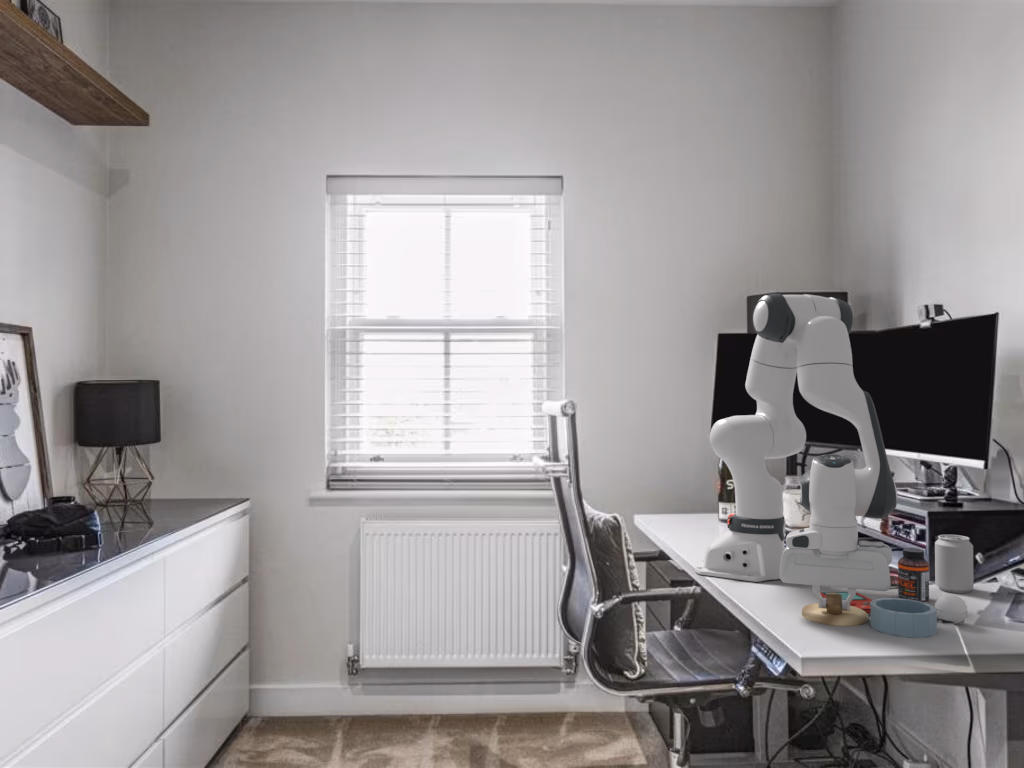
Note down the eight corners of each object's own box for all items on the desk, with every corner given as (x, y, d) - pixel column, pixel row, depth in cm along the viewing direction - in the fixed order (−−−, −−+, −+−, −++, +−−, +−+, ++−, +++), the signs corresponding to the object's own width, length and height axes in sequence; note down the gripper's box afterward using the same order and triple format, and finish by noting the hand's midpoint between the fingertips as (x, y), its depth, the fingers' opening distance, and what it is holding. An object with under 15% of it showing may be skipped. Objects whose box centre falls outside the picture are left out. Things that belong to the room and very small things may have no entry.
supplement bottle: (892, 602, 169) (892, 549, 169) (905, 597, 173) (904, 545, 173) (922, 608, 164) (921, 553, 164) (934, 603, 168) (933, 549, 168)
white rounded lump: (932, 617, 158) (932, 589, 158) (965, 620, 156) (965, 592, 156) (937, 629, 151) (937, 599, 151) (972, 632, 149) (971, 602, 149)
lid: (799, 623, 153) (799, 601, 153) (803, 604, 164) (803, 583, 164) (868, 630, 148) (867, 607, 148) (867, 609, 159) (867, 588, 159)
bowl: (871, 638, 146) (870, 610, 146) (870, 621, 156) (870, 595, 156) (938, 645, 141) (938, 617, 141) (933, 627, 151) (933, 601, 151)
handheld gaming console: (846, 608, 158) (814, 591, 173) (846, 614, 158) (815, 596, 173) (891, 608, 159) (856, 591, 174) (891, 614, 159) (856, 596, 174)
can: (978, 594, 174) (978, 540, 174) (941, 593, 176) (941, 539, 176) (966, 586, 182) (965, 533, 182) (930, 584, 183) (930, 532, 183)
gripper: (891, 539, 155) (892, 610, 155) (781, 532, 163) (781, 599, 163) (892, 545, 149) (893, 619, 149) (778, 538, 157) (778, 607, 157)
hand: (834, 608), depth 156 cm, fingers closed on lid, 3 cm apart
